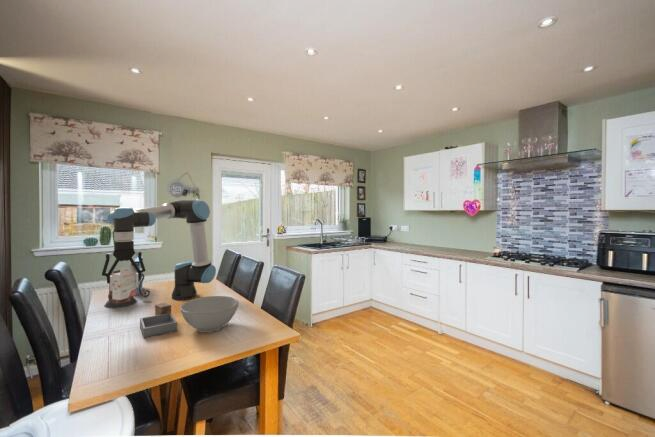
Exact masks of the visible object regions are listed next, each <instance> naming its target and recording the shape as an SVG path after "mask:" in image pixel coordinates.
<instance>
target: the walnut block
mask: <svg viewBox="0 0 655 437" xmlns="http://www.w3.org/2000/svg"><path fill="white" fill-rule="evenodd" d="M154 311H155V312H154V316H155V315H161V314H166V313H171V314H172V304H170V303H168V302H160V303H157V304H156V303H155V309H154Z"/></svg>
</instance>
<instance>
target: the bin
mask: <svg viewBox="0 0 655 437" xmlns="http://www.w3.org/2000/svg"><path fill="white" fill-rule="evenodd" d="M139 328H140V332H141V334H142V337H143V339H147V338H148V339H149V338H152V337H157V336H162V335H166V334H167V335H168V334H171V332H172V333H175V331H176V332H177V331H178V321H177V320H176V318H175V316H173V314H172V312H171V313H166V314H161V315H155V314H154V315H151V316H146V317H140V318H139Z"/></svg>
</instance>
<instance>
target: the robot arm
mask: <svg viewBox="0 0 655 437" xmlns="http://www.w3.org/2000/svg"><path fill="white" fill-rule="evenodd" d="M210 212H211V211H210V206H209V204H208V203H207V202H205V201H204V200H197V199H196V200H195V199H194V200H193V199H189V200H188V199H187V200H185V199H183V200H182V199H181V200H177V201H171V202H165V203H164V204H162V205H156V206H148V207H142V208H133V207H116V208H114V210H113V211H111V212H109V213H108V215H107V217H106V218H107V222H108V224H109V225H111V226H113V240H114V243H113V252H112V253H111V252H110V253H108V252H107V253H105V258H106V259H105V261H104V264H103V268H102V272H101V276H102V277H103V276H104V277H106V283H107V284H109V283H110V291H112V275H111V273H112V272H113V271H115V269H116V267H117V265H118V263H119V262H125V261H126V262H127V261H129V262H130V263H132V265H133V266H134V267H135V269H136V270H137V272H138V273H136V288H138V280H141V273H142V272H143V273H144V272H146V267H145V264H144V260H143V261H142V257H143V256H142V255H143V254H142V251H141V250H140V251H135V246H134V245H135V244H134V242H135V241H134V240H135V237H134V236H135V234H134V233H135V232H134V231H135V230H134V229H135V228H142V227H143V228H145V227H147V228H148V227H151V226H154V225H155V223H156V220H160V219H165V218H166V219H169V220H170V219H183V220H186V224H188V225H189V230H190V231H189V232H190V240H191V249H192V256H193V260H191V261H189V260H188V261H183V262H179V263H176V264H175V265H174V287H173V289H172V293H171V299H172V300H175V301H185V300H192V299H195V298H196V297H197V296H198V291H197V289H196V286H195V283H198V284H209V283H211V282H212V281H213V280H214V278H215V277H216V273H217V268H216V266H215V265H213V264H212V261H211V260H210V259H209V257H208V256H209V253H208V245H207V244H208V243H207V237H206V236H207V235H206V229H205V228H206V226H205V224H206V223H207V221H208V220H207V219H208V218H209V217H210ZM134 255H136V256H135V257H138V258H139V262H140V265H141V268H142V269H141V270H140V269H139V268H138V266H137V265H136V263H135V262H134V260H133V259H134V258H133V257H134ZM113 257H114V258H116V259H115V260H114V262H113V263H112V265H111V267H110V268H109V269H108V266H109V263H110V259H111V258H113ZM107 270H108V272H107ZM110 275H111V276H110Z"/></svg>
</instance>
